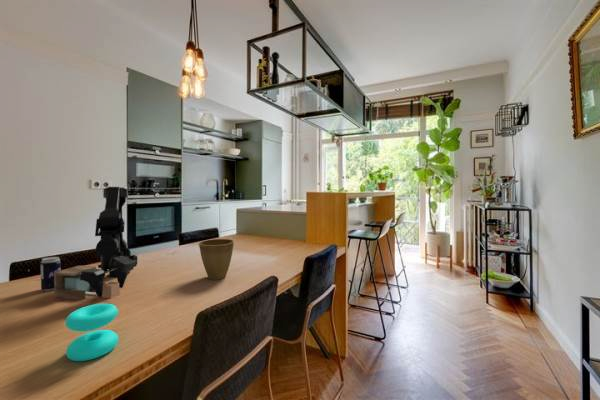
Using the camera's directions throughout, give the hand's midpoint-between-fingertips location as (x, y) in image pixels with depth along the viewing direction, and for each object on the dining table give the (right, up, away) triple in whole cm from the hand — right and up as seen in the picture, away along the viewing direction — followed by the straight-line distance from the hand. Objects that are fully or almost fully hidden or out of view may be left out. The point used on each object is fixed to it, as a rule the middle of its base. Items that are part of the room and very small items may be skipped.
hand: (111, 292), depth 99 cm
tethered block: (-7, -1, +1) cm, 8 cm away
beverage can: (-28, -1, +6) cm, 28 cm away
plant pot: (+32, -1, +23) cm, 39 cm away
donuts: (+19, -3, -33) cm, 38 cm away
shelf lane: (-13, -1, +2) cm, 13 cm away
